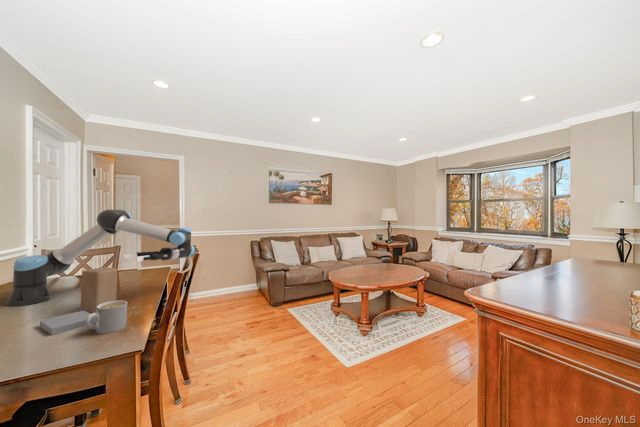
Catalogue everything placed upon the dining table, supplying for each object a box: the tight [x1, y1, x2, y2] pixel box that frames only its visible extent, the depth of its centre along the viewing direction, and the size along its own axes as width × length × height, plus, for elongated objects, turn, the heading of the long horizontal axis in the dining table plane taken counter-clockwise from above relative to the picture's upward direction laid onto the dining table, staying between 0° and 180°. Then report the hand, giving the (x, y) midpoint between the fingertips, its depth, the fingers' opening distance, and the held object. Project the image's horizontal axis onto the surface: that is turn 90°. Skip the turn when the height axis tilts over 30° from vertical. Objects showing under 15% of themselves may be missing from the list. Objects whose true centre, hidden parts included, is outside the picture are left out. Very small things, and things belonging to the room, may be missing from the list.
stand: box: [39, 310, 96, 336], centre depth 107 cm, size 14×14×2 cm
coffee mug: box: [85, 300, 128, 335], centre depth 103 cm, size 13×10×10 cm
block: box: [80, 266, 118, 314], centre depth 124 cm, size 10×10×20 cm
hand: (129, 258), depth 136 cm, fingers open, 13 cm apart
